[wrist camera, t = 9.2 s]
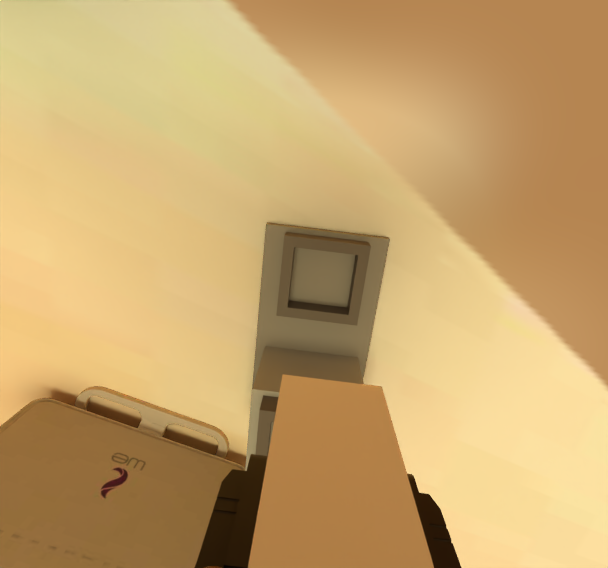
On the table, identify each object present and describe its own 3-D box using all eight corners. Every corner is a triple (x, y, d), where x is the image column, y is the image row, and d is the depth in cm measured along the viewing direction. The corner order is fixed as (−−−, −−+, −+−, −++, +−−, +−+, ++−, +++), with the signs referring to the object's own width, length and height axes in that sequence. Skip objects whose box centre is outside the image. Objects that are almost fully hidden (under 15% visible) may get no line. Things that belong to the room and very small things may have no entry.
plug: (282, 374, 14) (229, 671, 6) (381, 386, 14) (473, 702, 6) (272, 468, 16) (216, 818, 7) (362, 480, 16) (411, 843, 7)
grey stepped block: (267, 222, 36) (246, 244, 25) (387, 237, 36) (416, 265, 25) (251, 409, 42) (229, 487, 32) (353, 422, 42) (364, 504, 32)
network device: (261, 443, 44) (216, 652, 25) (238, 494, 46) (181, 719, 27) (54, 369, 42) (-167, 535, 23) (42, 427, 44) (-166, 619, 25)
